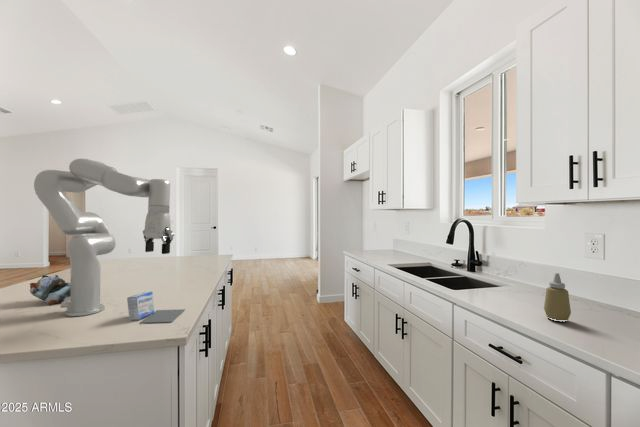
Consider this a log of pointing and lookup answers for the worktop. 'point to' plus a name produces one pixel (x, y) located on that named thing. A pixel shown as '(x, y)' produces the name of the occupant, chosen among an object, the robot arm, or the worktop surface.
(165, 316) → the mat
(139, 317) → the medicine box
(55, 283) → the blue crumpled lump
